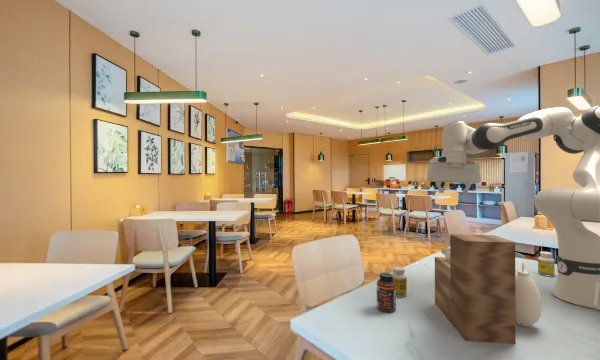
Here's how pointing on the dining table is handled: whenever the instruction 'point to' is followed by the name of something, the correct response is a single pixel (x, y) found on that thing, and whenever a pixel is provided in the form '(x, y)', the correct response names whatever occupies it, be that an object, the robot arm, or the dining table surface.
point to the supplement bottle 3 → (546, 264)
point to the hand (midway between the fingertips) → (453, 193)
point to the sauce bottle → (527, 299)
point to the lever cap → (446, 253)
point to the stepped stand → (478, 287)
